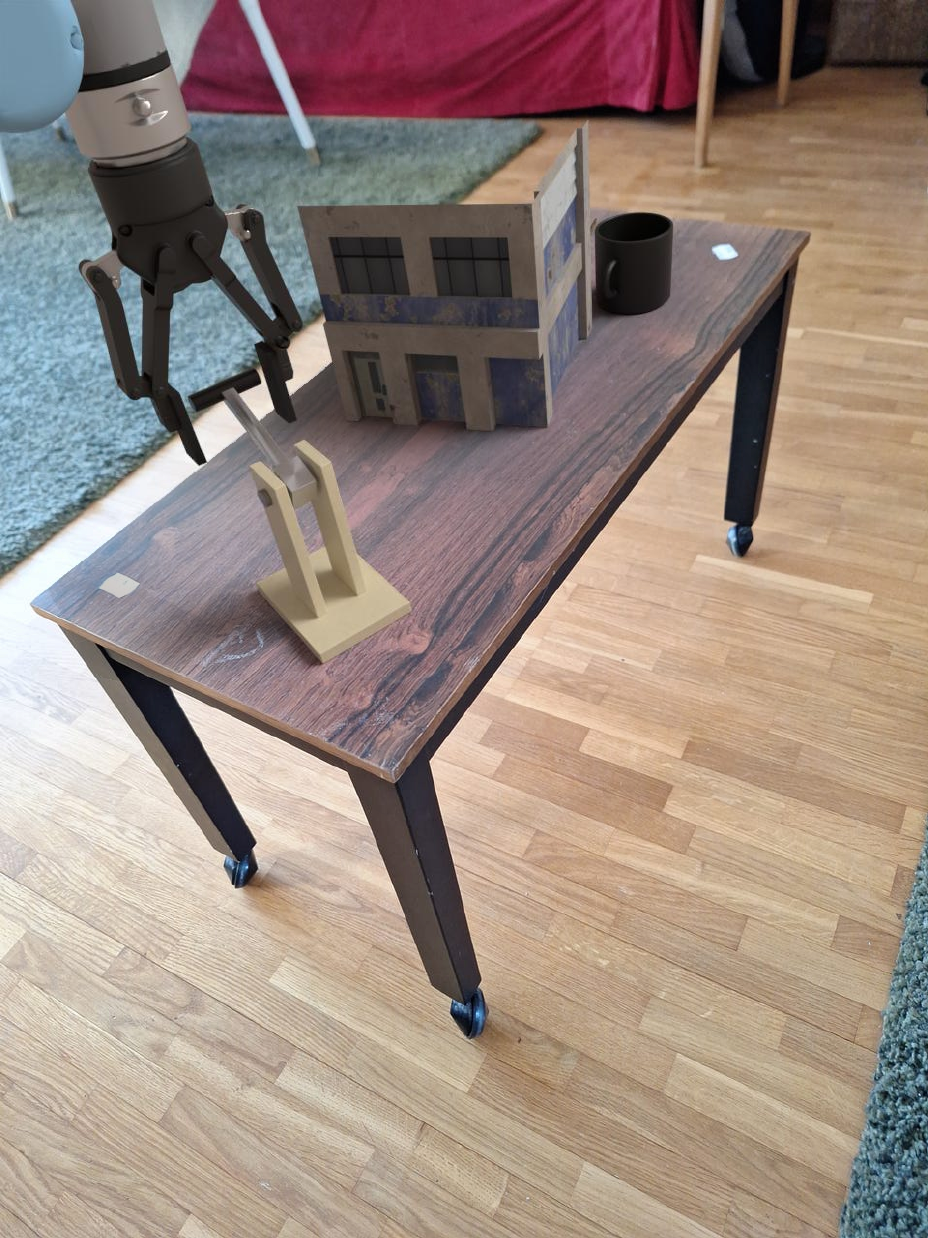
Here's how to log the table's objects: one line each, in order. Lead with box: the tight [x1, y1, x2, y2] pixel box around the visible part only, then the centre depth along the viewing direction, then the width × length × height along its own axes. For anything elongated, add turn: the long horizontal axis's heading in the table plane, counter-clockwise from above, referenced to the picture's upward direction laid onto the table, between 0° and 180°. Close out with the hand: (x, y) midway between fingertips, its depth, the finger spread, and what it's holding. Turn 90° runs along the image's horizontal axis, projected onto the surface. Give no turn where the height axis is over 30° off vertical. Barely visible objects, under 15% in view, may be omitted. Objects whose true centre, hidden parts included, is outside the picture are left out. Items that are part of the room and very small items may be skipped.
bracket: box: [248, 439, 412, 665], centre depth 71 cm, size 12×9×15 cm
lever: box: [187, 367, 318, 511], centre depth 69 cm, size 13×6×2 cm, turn 36°
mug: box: [594, 211, 674, 315], centre depth 107 cm, size 9×12×9 cm
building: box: [296, 120, 593, 432], centre depth 94 cm, size 23×24×23 cm
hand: (242, 436), depth 74 cm, fingers open, 8 cm apart
